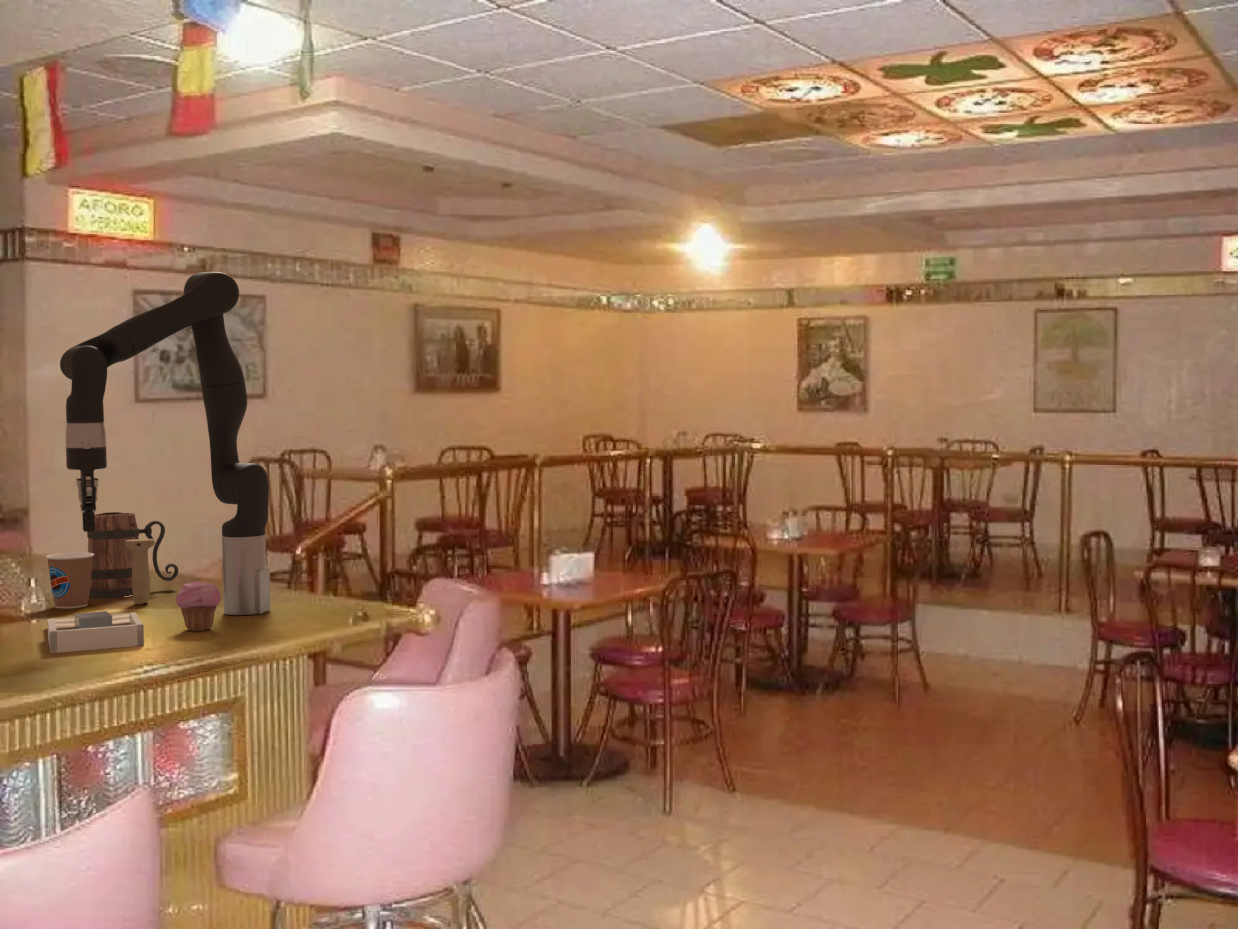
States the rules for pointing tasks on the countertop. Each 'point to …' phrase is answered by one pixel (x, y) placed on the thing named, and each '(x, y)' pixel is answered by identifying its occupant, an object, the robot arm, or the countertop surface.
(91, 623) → the matte grey cube
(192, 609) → the cupcake
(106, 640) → the box
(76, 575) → the coffee cup
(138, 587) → the handle
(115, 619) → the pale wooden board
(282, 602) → the countertop surface
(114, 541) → the tankard
